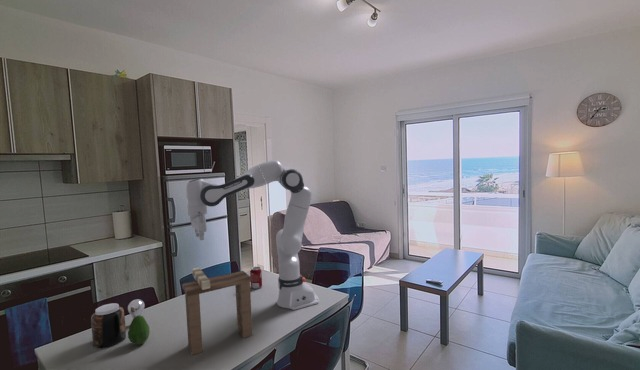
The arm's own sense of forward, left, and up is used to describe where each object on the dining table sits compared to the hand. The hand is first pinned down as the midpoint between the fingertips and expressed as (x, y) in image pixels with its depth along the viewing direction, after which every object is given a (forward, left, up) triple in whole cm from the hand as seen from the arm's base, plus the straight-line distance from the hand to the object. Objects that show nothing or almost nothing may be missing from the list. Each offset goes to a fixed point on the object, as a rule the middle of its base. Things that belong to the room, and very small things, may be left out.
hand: (199, 238), depth 159 cm
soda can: (-29, -22, -39) cm, 53 cm away
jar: (+38, +14, -39) cm, 56 cm away
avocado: (+25, +21, -39) cm, 50 cm away
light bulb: (+30, +2, -39) cm, 49 cm away
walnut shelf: (-8, +30, -38) cm, 49 cm away
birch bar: (-1, +29, -12) cm, 31 cm away
